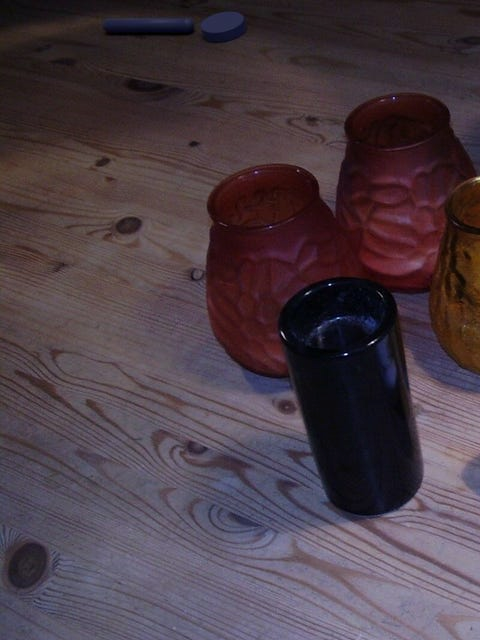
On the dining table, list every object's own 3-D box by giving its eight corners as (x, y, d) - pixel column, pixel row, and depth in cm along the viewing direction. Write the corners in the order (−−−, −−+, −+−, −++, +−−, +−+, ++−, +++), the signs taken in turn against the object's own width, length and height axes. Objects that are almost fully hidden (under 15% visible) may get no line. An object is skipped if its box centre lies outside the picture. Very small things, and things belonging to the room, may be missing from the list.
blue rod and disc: (96, 42, 117) (91, 29, 116) (115, 21, 120) (110, 9, 119) (237, 42, 113) (233, 29, 112) (252, 20, 117) (249, 7, 115)
